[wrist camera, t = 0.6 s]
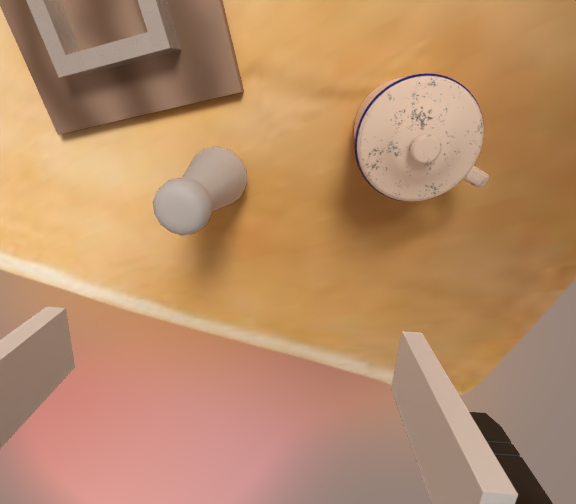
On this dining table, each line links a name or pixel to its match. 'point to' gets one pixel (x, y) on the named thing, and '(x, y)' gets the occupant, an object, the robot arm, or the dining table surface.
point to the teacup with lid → (419, 137)
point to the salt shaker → (200, 191)
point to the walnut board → (134, 76)
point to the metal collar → (132, 49)
